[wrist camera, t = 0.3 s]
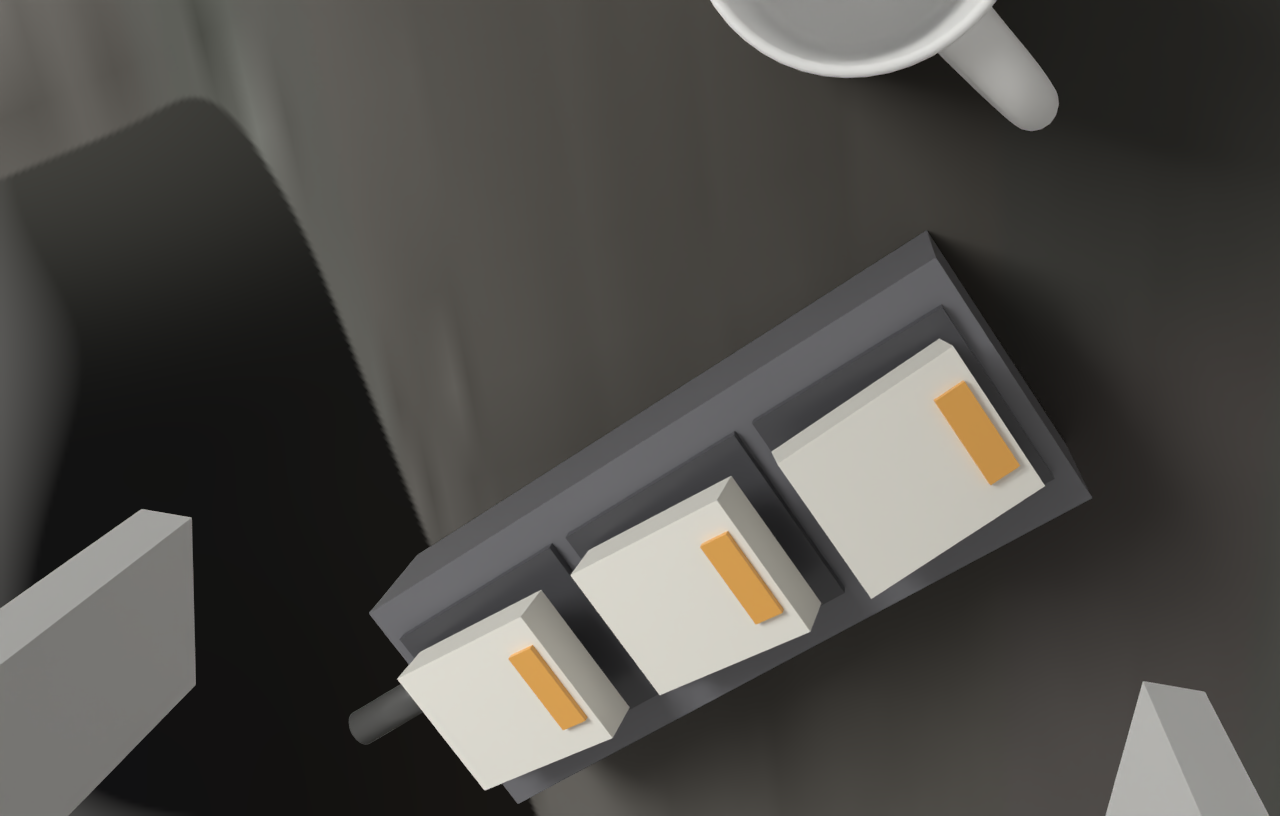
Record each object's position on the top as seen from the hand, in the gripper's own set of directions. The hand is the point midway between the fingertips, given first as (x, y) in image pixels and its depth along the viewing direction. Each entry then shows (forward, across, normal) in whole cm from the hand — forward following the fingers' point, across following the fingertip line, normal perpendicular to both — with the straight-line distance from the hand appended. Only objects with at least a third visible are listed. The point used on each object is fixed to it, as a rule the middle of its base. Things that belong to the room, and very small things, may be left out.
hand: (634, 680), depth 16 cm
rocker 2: (+20, 0, -9) cm, 22 cm away
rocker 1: (+20, -6, -14) cm, 25 cm away
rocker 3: (+20, +5, -4) cm, 21 cm away
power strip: (+27, -3, -11) cm, 29 cm away
